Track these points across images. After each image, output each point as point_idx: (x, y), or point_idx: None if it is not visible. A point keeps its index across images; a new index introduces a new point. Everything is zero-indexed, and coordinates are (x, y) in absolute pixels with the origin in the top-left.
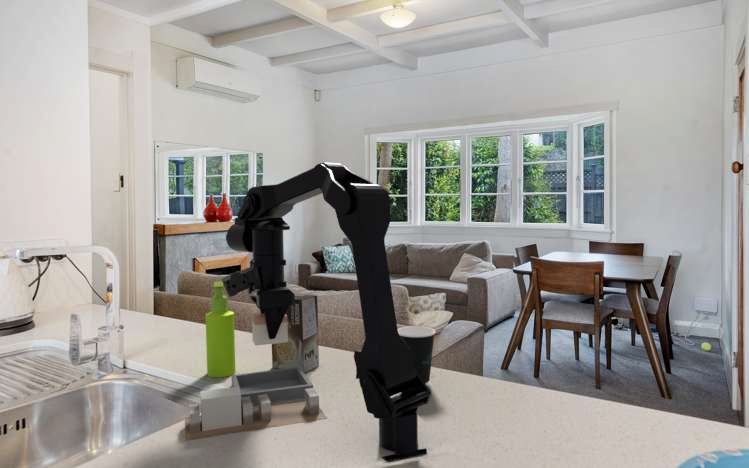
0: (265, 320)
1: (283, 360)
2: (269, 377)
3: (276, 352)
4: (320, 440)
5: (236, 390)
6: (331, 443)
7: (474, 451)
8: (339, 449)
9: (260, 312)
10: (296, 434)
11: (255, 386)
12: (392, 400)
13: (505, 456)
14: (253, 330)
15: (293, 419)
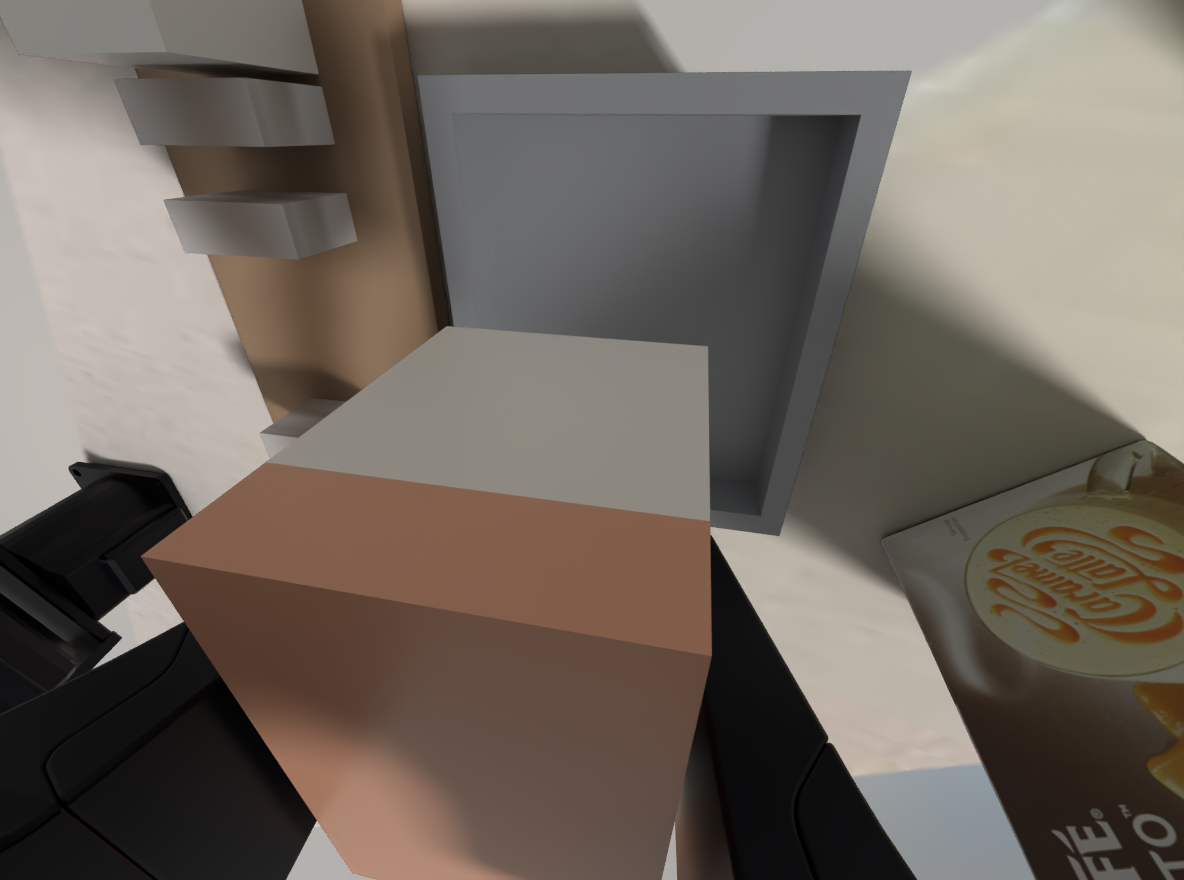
0: (195, 652)
1: (1064, 515)
2: (791, 359)
3: (1175, 523)
4: (177, 366)
5: (83, 25)
6: (161, 387)
7: (161, 606)
8: (128, 393)
9: (833, 831)
10: (214, 308)
11: (750, 252)
12: (33, 599)
13: (149, 629)
14: (542, 409)
15: (267, 327)
